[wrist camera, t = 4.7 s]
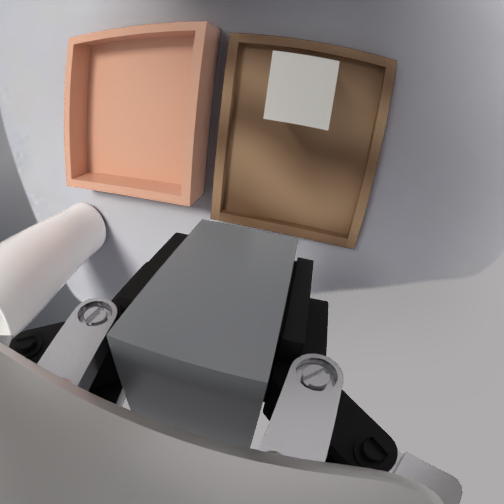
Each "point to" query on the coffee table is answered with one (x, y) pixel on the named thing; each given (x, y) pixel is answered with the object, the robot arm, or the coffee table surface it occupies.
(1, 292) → the drinking glass
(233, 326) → the grey rectangular block
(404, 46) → the coffee table surface
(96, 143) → the dish
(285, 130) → the tray
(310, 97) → the light grey rectangular box
